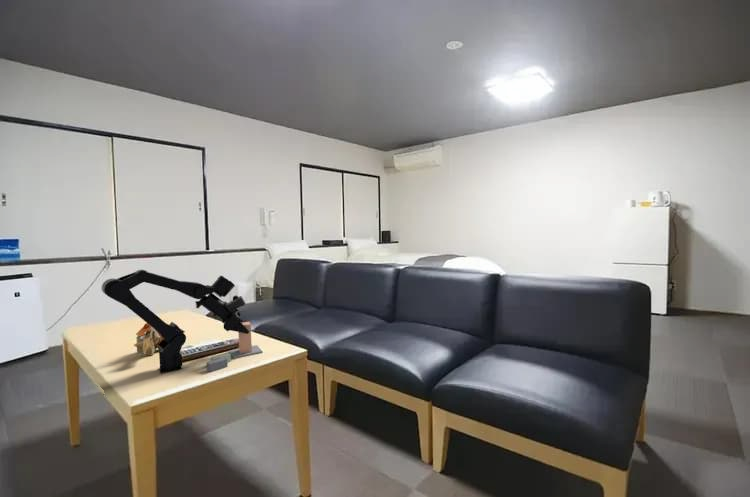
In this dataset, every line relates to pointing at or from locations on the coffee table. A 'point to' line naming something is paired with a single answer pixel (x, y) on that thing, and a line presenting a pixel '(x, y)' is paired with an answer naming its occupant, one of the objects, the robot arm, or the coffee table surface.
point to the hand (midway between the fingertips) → (248, 330)
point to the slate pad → (237, 354)
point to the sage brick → (225, 355)
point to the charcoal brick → (217, 364)
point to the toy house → (148, 340)
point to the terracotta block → (245, 339)
